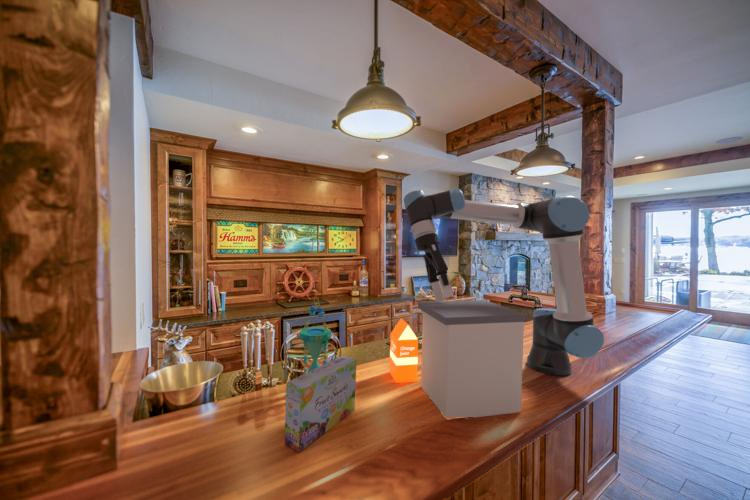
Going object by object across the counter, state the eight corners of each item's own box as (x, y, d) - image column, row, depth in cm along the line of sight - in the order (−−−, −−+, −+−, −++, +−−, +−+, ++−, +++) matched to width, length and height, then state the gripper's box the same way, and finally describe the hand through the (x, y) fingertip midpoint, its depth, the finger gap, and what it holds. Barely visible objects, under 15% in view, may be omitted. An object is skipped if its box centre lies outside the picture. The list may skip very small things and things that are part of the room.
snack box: (300, 455, 66) (301, 388, 66) (283, 445, 69) (284, 381, 69) (356, 410, 84) (357, 357, 84) (340, 404, 87) (341, 353, 87)
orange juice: (395, 383, 101) (397, 324, 101) (389, 371, 110) (390, 318, 109) (417, 381, 103) (419, 323, 102) (409, 370, 112) (410, 317, 111)
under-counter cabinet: (482, 378, 106) (485, 300, 105) (523, 411, 85) (527, 314, 85) (415, 384, 101) (417, 301, 100) (442, 421, 80) (445, 317, 79)
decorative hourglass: (338, 385, 99) (339, 295, 98) (318, 401, 89) (320, 301, 88) (311, 378, 103) (312, 292, 102) (289, 392, 93) (291, 297, 93)
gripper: (410, 248, 110) (427, 304, 105) (418, 226, 85) (440, 298, 80) (430, 243, 110) (447, 299, 105) (443, 220, 86) (467, 291, 81)
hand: (444, 299), depth 93 cm, fingers open, 13 cm apart
